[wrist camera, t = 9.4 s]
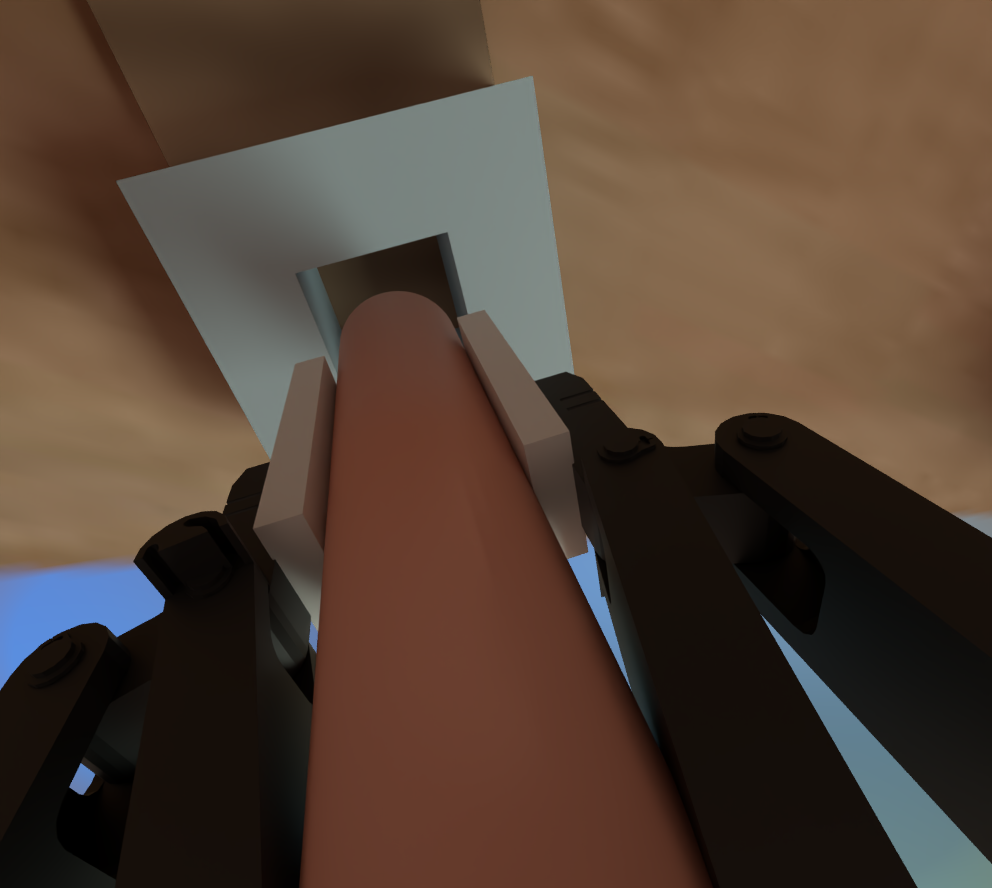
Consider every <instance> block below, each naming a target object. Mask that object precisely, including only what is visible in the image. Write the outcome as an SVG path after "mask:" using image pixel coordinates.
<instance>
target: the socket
mask: <svg viewBox="0 0 992 888" xmlns="http://www.w3.org/2000/svg"><path fill="white" fill-rule="evenodd" d="M116 182H117V184H118V186H119V188H120V190H121V191H122V193H123V195H124V197H125V199H126V200H127V202H128V204H129V206H130V208H131V209H132V211H133V213H134V215H135V217H136V218H137V220H138V222H139V224H140V226H141V228H142V229H143V231H144V233H145V235H146V237H147V238H148V240H149V242H150V244H151V246H152V247H153V249H154V251H155V253H156V255H157V256H158V258H159V260H160V262H161V264H162V265H163V267H164V269H165V271H166V273H167V274H168V276H169V278H170V280H171V282H172V283H173V285H174V287H175V289H176V291H177V292H178V294H179V296H180V298H181V300H182V301H183V303H184V305H185V307H186V309H187V310H188V312H189V314H190V316H191V318H192V319H193V321H194V323H195V325H196V327H197V328H198V330H199V332H200V334H201V336H202V337H203V339H204V341H205V343H206V345H207V346H208V348H209V350H210V352H211V354H212V355H213V357H214V359H215V361H216V363H217V364H218V366H219V368H220V370H221V372H222V373H223V375H224V377H225V379H226V381H227V383H228V384H229V386H230V388H231V390H232V392H233V393H234V395H235V397H236V399H237V401H238V402H239V404H240V406H241V408H242V410H243V411H244V413H245V415H246V417H247V419H248V420H249V422H250V424H251V426H252V428H253V429H254V431H255V433H256V435H257V437H258V438H259V440H260V442H261V444H262V446H263V447H264V449H265V451H266V453H267V455H268V456H269V458H270V460H271V456H272V452H273V448H274V444H275V441H276V437H277V433H278V429H279V425H280V421H281V417H282V413H283V409H284V405H285V402H286V398H287V394H288V390H289V386H290V382H291V378H292V374H293V370H294V366H295V364H296V363H300V362H303V361H307V360H310V359H314V358H317V357H321V356H325V358H326V361H327V363H328V365H329V368H330V370H331V373H332V375H333V377H334V380H335V382H336V384H337V373H338V359H339V346H340V336H341V333H342V330H341V328H340V325H339V322H338V320H337V317H336V315H335V312H334V310H333V307H332V305H331V302H330V300H329V297H328V295H327V292H326V289H325V287H324V284H323V282H322V279H321V277H320V274H319V272H318V269H317V267H321V266H324V265H328V264H332V263H335V262H339V261H343V260H346V259H350V258H354V257H357V256H361V255H365V254H368V253H372V252H376V251H379V250H383V249H387V248H390V247H394V246H398V245H401V244H405V243H409V242H412V241H416V240H420V239H423V238H427V237H431V236H435V235H436V237H437V241H438V245H439V249H440V253H441V256H442V260H443V264H444V268H445V272H446V276H447V279H448V283H449V287H450V291H451V295H452V299H453V303H454V306H455V310H456V314H457V317H461V316H464V315H468V314H471V313H475V312H478V311H482V310H485V311H486V313H487V314H488V315H489V317H490V318H491V320H492V321H493V323H494V324H495V325H496V327H497V328H498V330H499V331H500V333H501V334H502V335H503V337H504V338H505V340H506V341H507V343H508V344H509V346H510V347H511V348H512V350H513V351H514V353H515V354H516V356H517V357H518V358H519V360H520V361H521V363H522V364H523V366H524V367H525V368H526V370H527V371H528V373H529V374H530V376H531V377H532V378H533V380H534V381H536V380H539V379H542V378H546V377H549V376H553V375H556V374H559V373H563V372H568V373H571V374H573V375H574V369H573V362H572V354H571V347H570V340H569V333H568V326H567V319H566V311H565V304H564V297H563V290H562V283H561V276H560V268H559V261H558V254H557V247H556V240H555V233H554V225H553V218H552V211H551V204H550V197H549V189H548V182H547V175H546V168H545V161H544V154H543V146H542V139H541V132H540V125H539V118H538V111H537V103H536V96H535V89H534V82H533V76H530V77H526V78H522V79H518V80H514V81H510V82H506V83H502V84H498V85H494V86H490V87H486V88H482V89H478V90H474V91H470V92H466V93H462V94H459V95H455V96H451V97H447V98H443V99H439V100H435V101H431V102H427V103H423V104H419V105H415V106H411V107H407V108H403V109H399V110H395V111H391V112H387V113H383V114H379V115H375V116H371V117H367V118H363V119H359V120H355V121H351V122H347V123H343V124H340V125H336V126H332V127H328V128H324V129H320V130H316V131H312V132H308V133H304V134H300V135H296V136H292V137H288V138H284V139H280V140H276V141H272V142H268V143H264V144H260V145H256V146H252V147H248V148H244V149H240V150H236V151H232V152H228V153H225V154H221V155H217V156H213V157H209V158H205V159H201V160H197V161H193V162H189V163H185V164H181V165H177V166H173V167H169V168H165V169H161V170H157V171H153V172H149V173H145V174H141V175H137V176H133V177H129V178H125V179H121V180H117V181H116ZM455 330H456V332H457V335H458V337H459V339H460V341H461V343H462V345H463V347H464V344H463V340H462V336H461V332H460V328H459V327H458V328H455ZM464 349H465V347H464Z"/></svg>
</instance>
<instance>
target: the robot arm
mask: <svg viewBox="0 0 992 888" xmlns="http://www.w3.org/2000/svg"><path fill="white" fill-rule="evenodd" d="M457 321H458V324H459V328H460V332H461V336H462V340H463V344H464V347H465V351H466V353H467V355H468V357H469V359H470V361H471V363H472V365H473V367H474V370H475V372H476V374H477V376H478V378H479V380H480V382H481V384H482V386H483V388H484V390H485V392H486V394H487V396H488V398H489V400H490V402H491V404H492V406H493V409H494V411H495V413H496V415H497V417H498V419H499V421H500V423H501V425H502V427H503V429H504V431H505V433H506V435H507V437H508V439H509V441H510V443H511V445H512V447H513V450H514V452H515V454H516V456H517V458H518V460H519V462H520V464H521V466H522V468H523V470H524V472H525V474H526V476H527V478H528V480H529V482H530V484H531V486H532V489H533V491H534V493H535V495H536V497H537V498H538V501H539V503H540V505H541V507H542V509H543V511H544V513H545V515H546V517H547V519H548V521H549V523H550V525H551V527H552V529H553V531H554V533H555V535H556V537H557V539H558V542H559V544H560V546H561V548H562V550H563V552H564V554H565V556H566V558H567V559H569V558H572V557H575V556H578V555H581V554H584V553H587V552H588V547H587V541H586V535H587V536H588V538H589V540H590V542H591V544H592V545H593V547H594V550H595V556H596V563H597V570H598V576H599V584H600V590H601V597H604V596H605V598H606V601H607V605H608V608H609V612H610V615H611V619H612V623H613V626H614V630H615V633H616V637H617V640H618V644H619V648H620V651H621V654H622V658H623V662H624V665H625V668H626V672H627V676H628V679H629V683H630V687H631V690H632V693H633V695H634V697H635V699H636V701H637V703H638V705H639V708H640V710H641V712H642V714H643V716H644V718H645V720H646V722H647V724H648V726H649V728H650V730H651V732H652V734H653V736H654V738H655V740H656V742H657V744H658V746H659V748H660V751H661V753H662V755H663V757H664V759H665V761H666V763H667V765H668V767H669V769H670V772H671V774H672V776H673V779H674V781H675V784H676V787H677V789H678V792H679V794H680V797H681V800H682V802H683V805H684V807H685V810H686V813H687V815H688V818H689V821H690V824H691V826H692V829H693V832H694V835H695V838H696V840H697V843H698V846H699V849H700V852H701V854H702V857H703V860H704V863H705V866H706V868H707V871H708V874H709V877H710V880H711V882H712V885H713V888H917V886H916V884H915V882H914V881H913V879H912V877H911V875H910V874H909V872H908V870H907V868H906V867H905V865H904V863H903V862H902V860H901V858H900V856H899V854H898V853H897V852H896V850H895V848H894V846H893V844H892V842H891V841H890V839H889V837H888V835H887V834H886V832H885V830H884V829H883V827H882V825H881V823H880V822H879V820H878V818H877V816H876V815H875V813H874V811H873V809H872V807H871V806H870V804H869V802H868V801H867V799H866V797H865V795H864V794H863V792H862V790H861V788H860V787H859V785H858V783H857V782H856V780H855V778H854V776H853V774H852V773H851V771H850V769H849V767H848V766H847V764H846V762H845V761H844V759H843V757H842V755H841V753H840V752H839V750H838V748H837V746H836V745H835V743H834V741H833V740H832V738H831V736H830V734H829V733H828V731H827V729H826V727H825V726H824V724H823V722H822V720H821V719H820V717H819V715H818V713H817V712H816V710H815V708H814V706H813V705H812V703H811V701H810V700H809V698H808V696H807V694H806V692H805V691H804V689H803V687H802V685H801V684H800V682H799V680H798V679H797V677H796V675H795V673H794V671H793V670H792V668H791V666H790V665H789V663H788V661H787V659H786V658H785V656H784V654H783V652H782V651H781V649H780V647H779V645H778V644H777V642H776V640H775V638H774V637H773V635H772V634H771V632H770V630H769V628H768V626H767V625H766V623H765V621H764V619H763V618H762V616H763V617H764V618H765V619H766V620H767V621H768V622H769V623H770V624H771V625H772V627H773V628H774V629H775V630H776V631H777V632H778V633H779V634H780V635H781V636H782V637H783V639H784V640H785V641H786V642H787V643H788V644H789V645H790V646H791V647H792V648H793V649H794V650H795V652H796V653H797V654H798V655H799V656H800V657H801V658H802V659H803V660H804V661H805V662H806V663H807V665H808V666H809V667H810V668H811V669H812V670H813V671H814V672H815V673H816V674H817V675H818V676H819V678H820V679H821V680H822V681H823V682H824V683H825V684H826V685H827V686H828V687H829V688H830V689H831V690H832V692H833V693H834V694H835V695H836V696H837V697H838V698H839V699H840V700H841V701H842V702H843V703H844V705H846V707H847V708H848V709H849V710H850V711H851V712H852V713H853V714H854V715H855V716H856V717H857V719H859V721H860V722H861V723H862V724H863V725H864V726H865V727H866V728H867V729H868V730H869V732H870V733H871V734H872V735H873V736H874V737H875V738H876V739H877V740H878V741H879V742H880V743H881V744H882V746H883V747H884V748H885V749H886V750H887V751H888V752H889V753H890V754H891V755H892V756H893V758H894V759H895V760H896V761H897V762H898V763H899V764H900V765H901V766H902V767H903V768H904V769H905V770H906V772H907V773H909V775H910V776H911V777H912V778H913V779H914V780H915V781H916V782H917V783H918V785H919V786H920V787H921V788H922V789H923V790H924V791H925V792H926V793H927V794H928V795H929V796H930V797H931V799H932V800H933V801H934V802H935V803H936V804H937V805H938V806H939V807H940V808H941V809H942V810H943V811H944V813H945V814H946V815H947V816H948V817H949V818H950V819H951V820H952V821H953V822H954V823H955V824H956V826H957V827H958V828H959V829H960V830H961V831H962V832H963V833H964V834H965V835H966V836H967V838H968V839H969V840H970V841H971V842H972V843H973V844H974V845H975V846H976V847H977V848H978V849H979V851H981V853H982V854H983V855H984V856H985V857H986V858H987V859H988V860H989V861H990V862H991V864H992V538H991V537H990V536H987V535H986V534H984V533H983V532H981V531H979V530H978V529H976V528H974V527H972V526H971V525H969V524H968V523H966V522H964V521H963V520H961V519H959V518H958V517H956V516H954V515H953V514H951V513H949V512H948V511H946V510H944V509H943V508H941V507H939V506H938V505H936V504H934V503H933V502H931V501H929V500H928V499H926V498H924V497H923V496H921V495H919V494H918V493H916V492H914V491H913V490H911V489H909V488H907V487H906V486H904V485H902V484H901V483H899V482H897V481H896V480H894V479H892V478H891V477H889V476H887V475H886V474H884V473H882V472H881V471H879V470H877V469H876V468H874V467H872V466H871V465H869V464H867V463H866V462H864V461H862V460H861V459H859V458H857V457H856V456H854V455H852V454H851V453H849V452H847V451H846V450H844V449H842V448H840V447H839V446H837V445H835V444H834V443H832V442H830V441H829V440H827V439H825V438H824V437H822V436H820V435H819V434H817V433H815V432H814V431H812V430H810V429H809V428H807V427H805V426H804V425H802V424H800V423H799V422H796V421H794V420H792V419H789V418H787V417H784V416H780V415H774V414H769V413H748V414H743V415H739V416H735V417H732V418H730V419H728V420H726V421H724V422H723V423H721V424H720V426H719V427H718V428H717V430H716V431H715V444H707V445H697V446H687V447H666V446H664V445H663V443H662V442H661V441H660V440H659V439H658V438H657V437H656V436H655V435H654V434H651V433H649V432H647V431H644V430H641V429H633V428H627V427H626V425H625V424H624V423H623V422H622V421H621V420H620V419H619V418H618V417H617V415H616V414H615V413H614V412H613V411H612V410H611V409H610V408H609V407H608V405H607V404H606V403H605V402H604V401H603V400H601V398H600V397H599V395H598V394H597V393H596V392H595V391H594V392H593V389H592V388H591V387H590V385H589V384H588V383H587V382H586V381H585V380H584V379H583V378H581V377H579V376H576V375H573V374H571V373H568V372H563V373H559V374H556V375H553V376H549V377H546V378H542V379H539V380H536V381H534V380H533V378H532V377H531V376H530V374H529V373H528V371H527V370H526V368H525V367H524V366H523V364H522V363H521V361H520V360H519V358H518V357H517V356H516V354H515V353H514V351H513V350H512V348H511V347H510V346H509V344H508V343H507V341H506V340H505V338H504V337H503V335H502V334H501V333H500V331H499V330H498V328H497V327H496V325H495V324H494V323H493V321H492V320H491V318H490V317H489V315H488V314H487V313H486V311H485V310H482V311H478V312H475V313H471V314H468V315H464V316H461V317H457ZM336 386H337V384H336V382H335V380H334V377H333V375H332V373H331V370H330V368H329V365H328V363H327V361H326V358H325V356H321V357H317V358H314V359H310V360H307V361H303V362H300V363H296V364H295V366H294V370H293V374H292V378H291V382H290V386H289V390H288V394H287V398H286V402H285V405H284V409H283V413H282V417H281V421H280V425H279V429H278V433H277V437H276V441H275V444H274V448H273V452H272V456H271V460H270V462H268V463H265V464H261V465H258V466H255V467H251V468H248V469H246V470H245V471H244V473H243V474H242V475H241V476H240V477H239V478H238V480H237V481H236V482H235V483H234V484H233V485H232V488H231V491H230V493H229V496H228V499H227V505H225V508H224V511H223V514H222V513H219V512H217V511H204V512H199V513H196V514H192V515H189V516H185V517H183V518H181V519H179V520H177V521H175V522H173V523H171V524H169V525H168V526H166V527H165V528H163V529H162V530H161V531H159V532H158V533H156V534H155V535H154V536H152V537H151V538H150V539H149V540H148V541H147V542H146V543H145V544H144V545H143V546H142V547H141V548H140V550H139V552H138V554H137V555H136V557H135V559H134V561H133V562H134V563H135V564H136V566H137V567H138V568H139V569H140V570H141V571H142V572H143V574H144V575H145V576H146V577H147V579H148V580H149V581H150V582H151V583H152V584H153V585H154V587H155V588H156V589H157V590H158V592H159V593H160V594H161V595H162V596H163V597H164V598H165V604H164V610H163V612H162V613H160V614H159V615H157V616H155V617H154V618H152V619H150V620H148V621H146V622H144V623H142V624H141V625H139V626H137V627H135V628H133V629H131V630H130V631H128V632H126V633H124V634H122V635H120V636H119V637H116V636H115V635H114V634H113V633H112V632H111V631H110V630H109V629H108V628H107V627H106V626H103V625H101V624H98V623H89V624H81V625H78V626H76V627H74V628H71V629H68V630H66V631H64V632H61V633H59V634H57V635H56V636H54V637H53V638H52V639H49V640H47V641H46V642H44V643H43V644H41V645H40V646H39V647H38V648H37V649H36V650H35V651H34V652H33V653H31V654H30V655H29V656H28V657H27V658H26V659H24V661H23V662H22V663H21V664H20V665H19V667H18V668H17V669H16V670H15V671H14V672H13V673H12V675H11V676H10V677H9V679H8V680H7V682H6V683H5V684H4V686H3V687H2V689H1V690H0V888H299V881H300V867H301V854H302V841H303V827H304V814H305V801H306V787H307V774H308V760H309V747H310V734H311V720H312V707H313V694H314V680H315V667H316V652H315V650H314V649H313V648H312V646H311V644H310V643H309V634H310V622H311V621H312V623H313V625H314V626H315V628H316V629H317V631H318V627H319V613H320V600H321V587H322V573H323V560H324V546H325V533H326V520H327V506H328V493H329V480H330V466H331V453H332V440H333V426H334V413H335V399H336ZM585 533H586V534H585ZM761 615H762V616H761ZM80 763H82V764H83V765H84V766H86V767H87V768H88V769H90V770H91V771H92V772H94V773H95V777H94V778H93V781H92V783H91V785H90V786H89V787H88V789H87V790H86V792H85V793H84V795H81V794H78V793H77V792H75V791H74V790H72V789H71V788H69V786H70V784H71V782H72V780H73V778H74V776H75V774H76V772H77V769H78V768H79V765H80Z"/></svg>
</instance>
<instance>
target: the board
mask: <svg viewBox="0 0 992 888" xmlns="http://www.w3.org/2000/svg"><path fill="white" fill-rule="evenodd" d="M87 2H88V4H89V6H90V8H91V10H92V12H93V14H94V16H95V18H96V20H97V22H98V24H99V26H100V28H101V30H102V32H103V34H104V36H105V38H106V40H107V42H108V44H109V46H110V48H111V50H112V52H113V54H114V56H115V58H116V61H117V63H118V65H119V67H120V69H121V71H122V73H123V75H124V77H125V79H126V81H127V83H128V85H129V87H130V89H131V91H132V93H133V95H134V97H135V99H136V101H137V103H138V105H139V107H140V109H141V111H142V113H143V115H144V117H145V119H146V121H147V123H148V125H149V127H150V129H151V131H152V133H153V135H154V137H155V139H156V141H157V143H158V145H159V147H160V149H161V151H162V153H163V155H164V157H165V159H166V161H167V163H168V165H169V167H173V166H177V165H181V164H185V163H189V162H193V161H197V160H201V159H205V158H209V157H213V156H217V155H221V154H225V153H228V152H232V151H236V150H240V149H244V148H248V147H252V146H256V145H260V144H264V143H268V142H272V141H276V140H280V139H284V138H288V137H292V136H296V135H300V134H304V133H308V132H312V131H316V130H320V129H324V128H328V127H332V126H336V125H340V124H343V123H347V122H351V121H355V120H359V119H363V118H367V117H371V116H375V115H379V114H383V113H387V112H391V111H395V110H399V109H403V108H407V107H411V106H415V105H419V104H423V103H427V102H431V101H435V100H439V99H443V98H447V97H451V96H455V95H459V94H462V93H466V92H470V91H474V90H478V89H482V88H486V87H490V86H494V85H495V84H494V79H493V73H492V67H491V62H490V56H489V50H488V44H487V39H486V33H485V27H484V21H483V16H482V10H481V4H480V0H87ZM317 269H318V272H319V274H320V277H321V279H322V282H323V284H324V287H325V289H326V292H327V295H328V297H329V300H330V302H331V305H332V307H333V310H334V312H335V315H336V317H337V320H338V322H339V325H340V328H341V330H342V329H343V327H344V324H345V322H346V320H347V319H348V317H349V315H350V314H351V313H352V312H353V310H354V309H355V308H356V307H358V306H359V305H360V304H361V303H362V302H364V301H365V300H367V299H369V298H371V297H373V296H375V295H378V294H381V293H385V292H391V291H406V292H411V293H415V294H418V295H421V296H424V297H426V298H428V299H429V300H431V301H433V302H434V303H436V304H437V305H438V306H439V307H440V308H441V309H442V310H443V311H444V312H445V313H446V314H447V316H448V317H449V319H450V320H451V322H452V324H453V326H454V328H458V327H459V324H458V321H457V314H456V310H455V306H454V303H453V299H452V295H451V291H450V287H449V283H448V279H447V276H446V272H445V268H444V264H443V260H442V256H441V253H440V249H439V245H438V241H437V237H436V235H435V236H431V237H427V238H423V239H420V240H416V241H412V242H409V243H405V244H401V245H398V246H394V247H390V248H387V249H383V250H379V251H376V252H372V253H368V254H365V255H361V256H357V257H354V258H350V259H346V260H343V261H339V262H335V263H332V264H328V265H324V266H321V267H317Z"/></svg>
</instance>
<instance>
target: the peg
mask: <svg viewBox="0 0 992 888" xmlns="http://www.w3.org/2000/svg"><path fill="white" fill-rule="evenodd" d="M299 888H713V885H712V882H711V880H710V877H709V874H708V871H707V868H706V866H705V863H704V860H703V857H702V854H701V852H700V849H699V846H698V843H697V840H696V838H695V835H694V832H693V829H692V826H691V824H690V821H689V818H688V815H687V813H686V810H685V807H684V805H683V802H682V800H681V797H680V794H679V792H678V789H677V787H676V784H675V781H674V779H673V776H672V774H671V772H670V769H669V767H668V765H667V763H666V761H665V759H664V757H663V755H662V753H661V751H660V748H659V746H658V744H657V742H656V740H655V738H654V736H653V734H652V732H651V730H650V728H649V726H648V724H647V722H646V720H645V718H644V716H643V714H642V712H641V710H640V708H639V705H638V703H637V701H636V699H635V697H634V695H633V693H632V691H631V689H630V687H629V685H628V683H627V681H626V679H625V677H624V675H623V673H622V671H621V669H620V667H619V665H618V662H617V660H616V658H615V656H614V654H613V652H612V650H611V648H610V646H609V644H608V642H607V640H606V638H605V636H604V634H603V632H602V630H601V628H600V626H599V624H598V622H597V619H596V618H595V615H594V613H593V611H592V609H591V607H590V605H589V603H588V601H587V599H586V597H585V595H584V593H583V591H582V589H581V587H580V585H579V582H578V581H577V579H576V576H575V574H574V572H573V570H572V568H571V566H570V564H569V562H568V560H567V558H566V556H565V554H564V552H563V550H562V548H561V546H560V544H559V542H558V539H557V537H556V535H555V533H554V531H553V529H552V527H551V525H550V523H549V521H548V519H547V517H546V515H545V513H544V511H543V509H542V507H541V505H540V503H539V501H538V498H537V497H536V495H535V493H534V491H533V489H532V486H531V484H530V482H529V480H528V478H527V476H526V474H525V472H524V470H523V468H522V466H521V464H520V462H519V460H518V458H517V456H516V454H515V452H514V450H513V447H512V445H511V443H510V441H509V439H508V437H507V435H506V433H505V431H504V429H503V427H502V425H501V423H500V421H499V419H498V417H497V415H496V413H495V411H494V409H493V406H492V404H491V402H490V400H489V398H488V396H487V394H486V392H485V390H484V388H483V386H482V384H481V382H480V380H479V378H478V376H477V374H476V372H475V370H474V367H473V365H472V363H471V361H470V359H469V357H468V355H467V353H466V351H465V349H464V347H463V345H462V343H461V341H460V339H459V337H458V335H457V332H456V330H455V328H454V326H453V324H452V322H451V320H450V319H449V317H448V316H447V314H446V313H445V312H444V311H443V310H442V309H441V308H440V307H439V306H438V305H437V304H436V303H434V302H433V301H431V300H429V299H428V298H426V297H424V296H421V295H418V294H415V293H411V292H406V291H391V292H385V293H381V294H378V295H375V296H373V297H371V298H369V299H367V300H365V301H364V302H362V303H361V304H360V305H359V306H358V307H356V308H355V309H354V310H353V312H352V313H351V314H350V315H349V317H348V319H347V320H346V322H345V324H344V327H343V329H342V333H341V336H340V346H339V359H338V373H337V386H336V399H335V413H334V426H333V440H332V453H331V466H330V480H329V493H328V506H327V520H326V533H325V546H324V560H323V573H322V587H321V600H320V613H319V627H318V640H317V653H316V667H315V680H314V694H313V707H312V720H311V734H310V747H309V760H308V774H307V787H306V801H305V814H304V827H303V841H302V854H301V867H300V881H299Z"/></svg>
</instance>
